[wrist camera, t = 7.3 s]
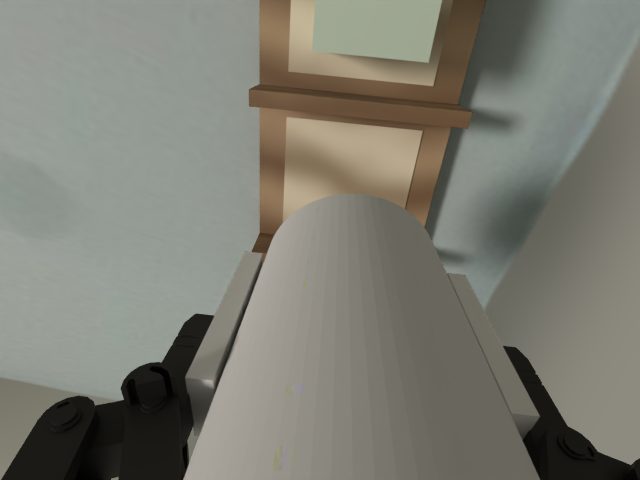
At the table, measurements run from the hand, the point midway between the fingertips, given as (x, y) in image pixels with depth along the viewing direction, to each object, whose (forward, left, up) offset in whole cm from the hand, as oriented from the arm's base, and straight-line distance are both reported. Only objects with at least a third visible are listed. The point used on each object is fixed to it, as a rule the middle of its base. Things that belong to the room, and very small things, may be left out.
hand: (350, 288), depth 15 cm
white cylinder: (0, 0, -1) cm, 1 cm away
